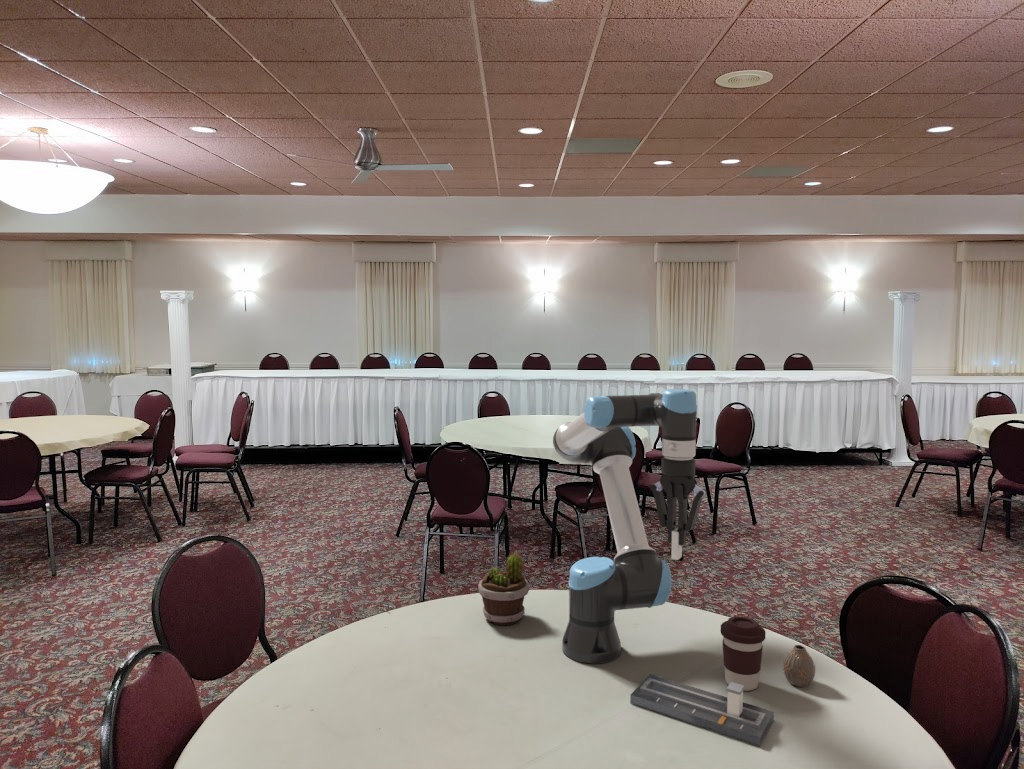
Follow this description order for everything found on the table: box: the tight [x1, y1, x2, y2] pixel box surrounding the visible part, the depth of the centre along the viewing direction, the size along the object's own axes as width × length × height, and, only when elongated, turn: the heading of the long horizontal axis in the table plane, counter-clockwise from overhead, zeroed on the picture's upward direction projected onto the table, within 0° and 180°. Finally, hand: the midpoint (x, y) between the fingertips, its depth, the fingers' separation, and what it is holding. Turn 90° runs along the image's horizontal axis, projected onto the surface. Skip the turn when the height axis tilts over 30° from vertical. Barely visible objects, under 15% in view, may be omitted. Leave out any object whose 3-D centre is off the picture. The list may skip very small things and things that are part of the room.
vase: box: [782, 644, 816, 688], centre depth 159 cm, size 7×7×9 cm
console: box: [629, 673, 775, 747], centre depth 147 cm, size 28×11×3 cm, turn 55°
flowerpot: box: [477, 549, 531, 626], centre depth 194 cm, size 14×15×20 cm
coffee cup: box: [720, 615, 766, 692], centre depth 158 cm, size 10×10×15 cm
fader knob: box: [725, 682, 744, 717], centre depth 142 cm, size 3×3×6 cm
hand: (676, 557), depth 156 cm, fingers closed
